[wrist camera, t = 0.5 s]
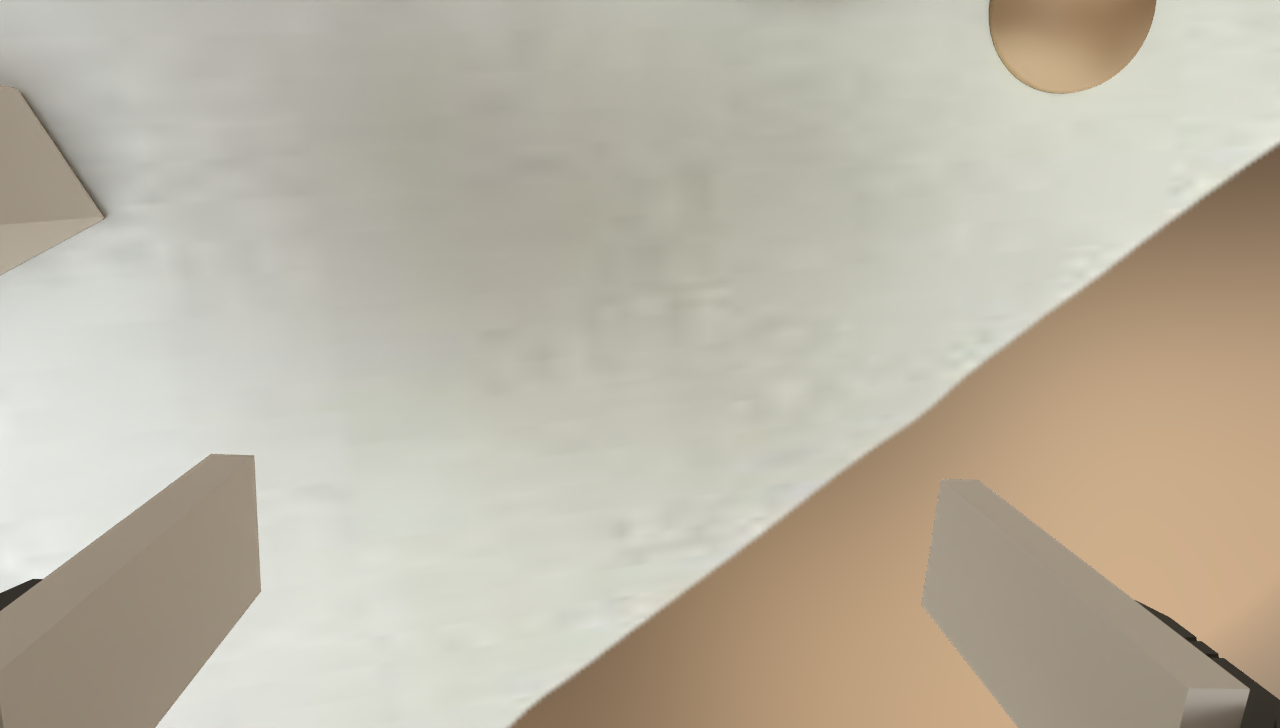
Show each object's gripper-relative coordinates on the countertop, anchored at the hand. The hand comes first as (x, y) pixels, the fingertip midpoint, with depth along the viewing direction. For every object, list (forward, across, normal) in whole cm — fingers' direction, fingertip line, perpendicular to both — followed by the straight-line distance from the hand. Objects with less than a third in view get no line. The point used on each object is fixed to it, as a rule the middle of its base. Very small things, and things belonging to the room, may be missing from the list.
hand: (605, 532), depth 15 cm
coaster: (+26, +22, +16) cm, 38 cm away
